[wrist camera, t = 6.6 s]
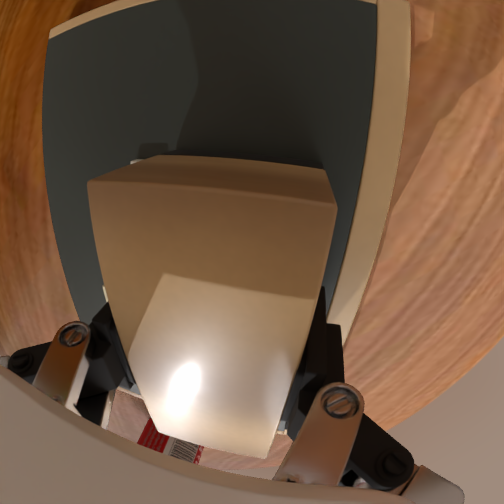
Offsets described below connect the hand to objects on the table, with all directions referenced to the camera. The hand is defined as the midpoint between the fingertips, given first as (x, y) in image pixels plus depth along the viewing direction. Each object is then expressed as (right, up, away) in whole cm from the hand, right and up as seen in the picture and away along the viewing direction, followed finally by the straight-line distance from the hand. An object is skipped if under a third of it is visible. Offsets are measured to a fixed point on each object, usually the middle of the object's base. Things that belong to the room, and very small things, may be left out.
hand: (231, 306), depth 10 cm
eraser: (0, 0, +1) cm, 1 cm away
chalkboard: (-2, +1, +2) cm, 3 cm away
